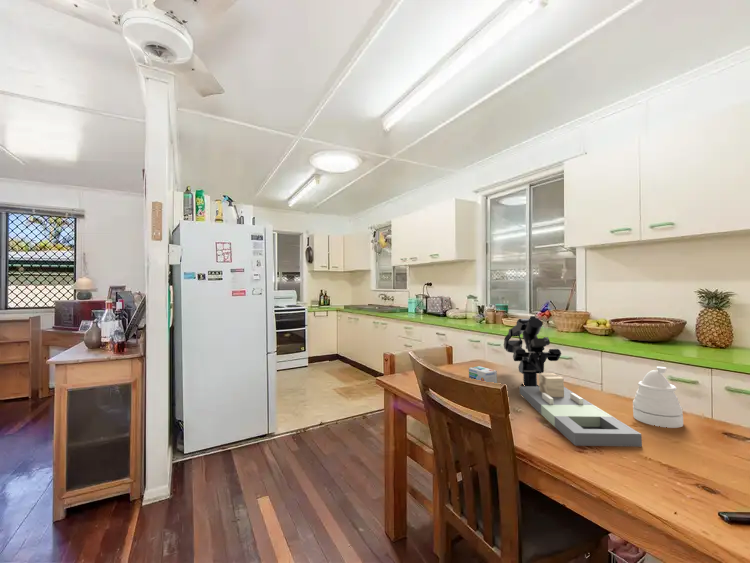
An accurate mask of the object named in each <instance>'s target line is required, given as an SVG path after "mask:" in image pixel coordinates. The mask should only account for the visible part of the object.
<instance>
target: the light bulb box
mask: <svg viewBox="0 0 750 563" xmlns="http://www.w3.org/2000/svg"><path fill="white" fill-rule="evenodd" d="M469 378H471V379H476V380H481V381H486V382H494V383H497V384H498V372H497V370H495V369H491V368H488V367H483V366H480V365H479V366H473V367H468V379H469Z"/></svg>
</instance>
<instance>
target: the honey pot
mask: <svg viewBox="0 0 750 563" xmlns="http://www.w3.org/2000/svg"><path fill="white" fill-rule="evenodd" d="M667 369H668V368H667V367H666V366H656V369H652V370H649V371H648V372H647V373H646V374H645V375H644V376H643V378H642V380H640V381H639V382H638V383H637V385H638V388H637V390H636V392H635V395H634V399H633V400H632V412H633V413H632V414H633V418H634V419H635V420H637V421H638V422H641V423H643V424H646V425H650V426H654V425H655V426H654V427H659V426H660V428H666V427H667V428H668V429H677V428H681V427H684V415H683V413H684V412H683V407H682V406H681V404H680V400H678V399H679V397H678V396H677V394H676V393H675V391H677V389H678V388H677V386H675V385H674V384H671V383H670V382H669V380H668V378H666V376H665V375H664V374H665V373H666V372H667Z"/></svg>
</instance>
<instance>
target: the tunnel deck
mask: <svg viewBox="0 0 750 563" xmlns="http://www.w3.org/2000/svg"><path fill="white" fill-rule="evenodd" d="M520 394H521V395H522V396H523V397H524V398H525V399H526V400H527V401H528V402H529V403H530V404H531V405H530V404H529V403H528V402H527V401H526V400H525V399H524V398H523V397H522V396H521V395H520ZM519 395H520V396H521V397H522V398H523V399H524V400H525V401H526V402H527V403H528V404H529V405H530V406H531V407H533V408H534V409H535V410H536V411H537V412H538V413H539V414H540V415H541V416H542V417H543V418H544V419H546V420H547V421H548V422H549V423H550V424H551V425H552V426H553V427H555V429H556V430H558V431H559V433H561V434H562V435H563V436H564V437H565V438H566V439H568V441H570V442H571V444H573V445H574V446H576V447H577V446H578V447H579V446H587V447H588V446H590V447H591V446H593V447H596V446H597V447H641V448H642V447H643V442H642V441H643V440H642V433H641V432H639V431H637V430H636V429H634V428H632V427H630V426H629V425H627V424H626V423H624V422H622V421H621V420H620V419H617V418H616V417H614V416H613V415H611V414H609V413H608V412H606V410H605V411H604V410H603V409H601V408H599V407H598V406H596V405H595V404H593V403H591V402H589V401H588V400H586V399H585V398H583V397H581V396H580V395H578V394H577V393H575V392H573V391H572V390H570V389H568V388H567V387H565V386H564V397H550V396H549V395H548V394H546V393H542V392H541V391H540V387H539V386H523V385H522V386H519Z"/></svg>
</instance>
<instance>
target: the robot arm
mask: <svg viewBox="0 0 750 563" xmlns="http://www.w3.org/2000/svg"><path fill="white" fill-rule="evenodd" d="M542 327H543V321H542V320H541V319H539V317H538V318H537V317H536V316H535V315H531V316H530V317H529V318H518V319H517V321H516V324H515V326H513V327H512V328H510V329H508V333H507V334H506V335H505V337H504V341H503V348H504V350H505V351H506V352H508V353H511V354H512V358H513V361H514V362H519V364H518V372H519V373H520V374H522V376H523V377H522V378H523V379H522V380H523V381H522V382H523V383H524V385H525V386H539V385H538V375H537V374H539V373H545V362H547V360H548V361H550V362H557V361H559V359H560V357H561V356H562V352H561V350H560V349H559V348H550V349H548V351H545V347H547V346H549V345H550V344H551V341H550V338H549V336H545V337H543V338H542V337H541V338H538V335H539V334H540V331H541V329H542ZM521 335H522V338H521ZM512 337H518V339H519V340H518V339H515V340H513V339H512V340H511V338H512ZM523 341H524V343H525V349H524V348H522V347H523ZM526 350H527V351H526Z"/></svg>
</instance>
